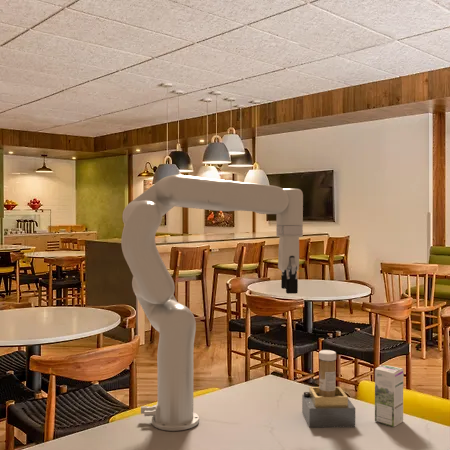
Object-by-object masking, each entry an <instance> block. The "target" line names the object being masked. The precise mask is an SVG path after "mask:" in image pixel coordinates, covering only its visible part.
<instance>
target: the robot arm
mask: <svg viewBox="0 0 450 450" xmlns="http://www.w3.org/2000/svg"><path fill="white" fill-rule="evenodd" d="M303 206H304V194H303V191H302V190H301V189H300V188H282V187H280V186H276V185H270V184H268V185H267V184H262V183H261V184H260V183H253V182H242V181H235V180H227V179H226V180H225V179H217V178H211V177H210V178H207V177H201V176H194V175H186V174H185V175H184V174H172V175H167V176H165V177H162V178H160V180H158V181H157V182H156V183H154V184H153V185H152V186H150V187H149V188H148V189H147V190H145V191H143V192H142V193H141V194H140V195H138V196H137V197H135V198H134V199H133V200H131V201H130V202H129V203H128V204H127V205H126V206H125V208H124V209H123V211H122V222H123V224H124V226H123V229H122V234H121V250H122V254H123V257H124V259H125V262H126V263H127V266H128V267H129V271H130V272H131V274H132V281H131V286H132V290H133V293H134V295H135V297H136V299H137V301H138V303H139V305H140V306H141V308H142V310H143V312H144V314H145V316H146V318H147V319H148V321H149V322H148V323H150V325H151V326H152V327H153V329H155V331H157V332H158V333H159V335H158V336H159V339H158V344H157V356H156V357H157V359H156V361H157V362H156V365H157V402H156V404H152V406H147V405H145V406H144V405H143V406H140V414H141V415H143V414H144V415H143V416H144V417H151V425H152V426H153V427H154V428H157V429H159V430H162V431H170V432H177V431H178V432H180V431H185V430H189V429H193V428H194V427H196V426H198V424H199V422H200V416H199V414H197V413H196V412H195V411H194V350H195V349H194V348H195V347H194V345H195V337H196V331H197V322H196V318H195V316H194V314H193V312H192V311H191V309H190V308H189V307H188V306H186V305H184V304H182V303H180V302H178V300H177V298H176V297H175V295H174V294H175V289H176V288H175V285H176V284H175V282H174V279H173V277H172V276H171V274H170V272H169V270H168V268H167V266H166V265H165V264H166V263H165V262H164V261H163V259H162V256H161V254H160V252H159V250H158V247H157V245H156V233H157V231H158V229H159V228H160V226H161V224H162V221H163V216H165V215H166V214H167V213H168V212H169V211H171V210H172V209H173V208H174V207H179V208H188V209H199V210H206V211H207V210H209V211H215V212H220V211H221V212H234V211H235V212H237V211H241V212H242V211H244V212H254V213H255V214H258V215H276V219H275V220H276V223H275V224H276V227H275V228H276V231H275V232H276V237H279V238H278V239H279V241H278V254H277V255H278V257H277V258H278V261H277V268H278V269H279V270H280V271H281V277H280V278H281V279H280V281H281V282H280V283H281V284H280V285H281V289H285V293H286V294H291V295H292V294H295V295H296V294H298V292H299V291H298V289H299V288H298V287H299V286H298V284H299V283H298V281H299V280H298V271H299V269H300V238H301V237H303V231H304V228H303V226H304V224H303V221H304V217H303V215H304V214H303V213H304V212H303V211H304V207H303Z"/></svg>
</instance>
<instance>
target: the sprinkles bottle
mask: <svg viewBox="0 0 450 450" xmlns="http://www.w3.org/2000/svg"><path fill="white" fill-rule="evenodd" d="M318 360H319V374H318V375H319V378H318V382H319V383H318V385H319V386H318V387H319V396H335V387H337V386H336V381H337V380H336V376H337V375H336V360H337V352H336V351H334V350H330V349H322V350H320V351H319V352H318Z"/></svg>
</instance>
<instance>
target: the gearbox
mask: <svg viewBox="0 0 450 450" xmlns="http://www.w3.org/2000/svg"><path fill="white" fill-rule="evenodd" d="M301 397H302V398H301V402H302V403H301V405H302V406H301V411H302V412H301V413H302V415H303V417H304V419H305V421H306V423H307V425H308V427H309V428H310V429H314V428H315V429H316V428H322V429H323V428H325V429H326V428H356V407H355V406H354V404H353V403H352V402H351V400H350V399H349V397H348V395H347V394H346V393H345V391H344V390H343V389H342V388H341V386H335V396H319V386H309V387H308V391H304V392H303V394H302V396H301Z"/></svg>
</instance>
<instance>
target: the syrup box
mask: <svg viewBox="0 0 450 450" xmlns="http://www.w3.org/2000/svg"><path fill="white" fill-rule="evenodd" d="M374 422H375V423H379V424H382V425H386V426H389V427H394V428H395V427H396V426H399V425H400V424H401V423H403V422H404V368H403V367H402V368H401V367H397V366H392V365H387V364H383V365H379V366H378V367H376V368H374Z"/></svg>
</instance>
